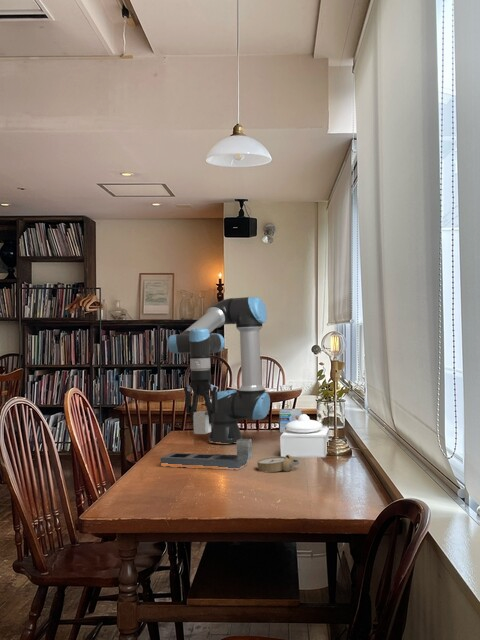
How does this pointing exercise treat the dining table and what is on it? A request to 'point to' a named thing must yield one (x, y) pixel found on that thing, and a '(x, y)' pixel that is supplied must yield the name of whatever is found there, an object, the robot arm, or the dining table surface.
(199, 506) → the dining table surface
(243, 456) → the grey metal flat frame
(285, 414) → the light bulb box
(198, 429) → the grey rectangular block
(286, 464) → the alarm clock
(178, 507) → the dining table surface
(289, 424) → the white box with dome
